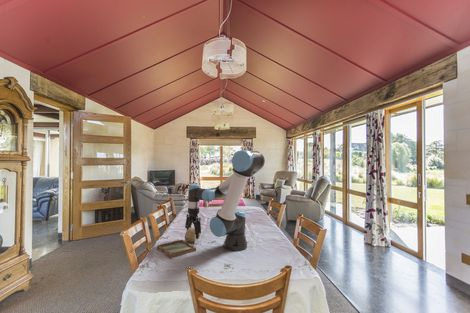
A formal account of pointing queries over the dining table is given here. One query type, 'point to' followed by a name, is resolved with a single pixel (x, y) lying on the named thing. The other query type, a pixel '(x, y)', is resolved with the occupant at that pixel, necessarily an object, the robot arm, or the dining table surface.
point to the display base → (176, 248)
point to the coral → (190, 235)
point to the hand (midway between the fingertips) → (192, 241)
